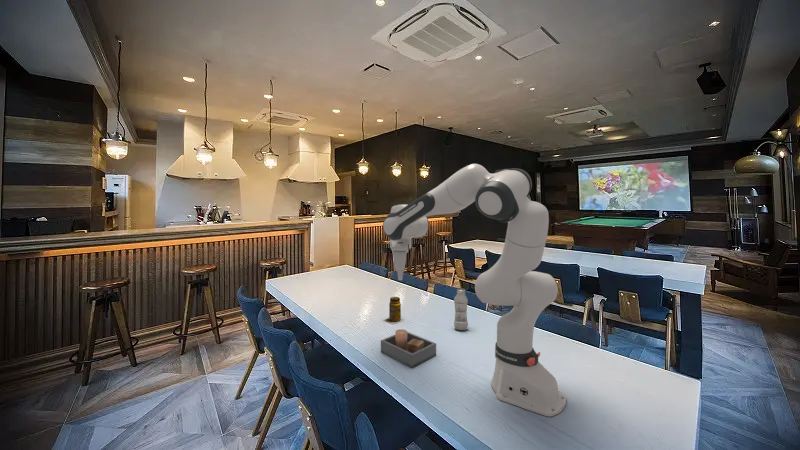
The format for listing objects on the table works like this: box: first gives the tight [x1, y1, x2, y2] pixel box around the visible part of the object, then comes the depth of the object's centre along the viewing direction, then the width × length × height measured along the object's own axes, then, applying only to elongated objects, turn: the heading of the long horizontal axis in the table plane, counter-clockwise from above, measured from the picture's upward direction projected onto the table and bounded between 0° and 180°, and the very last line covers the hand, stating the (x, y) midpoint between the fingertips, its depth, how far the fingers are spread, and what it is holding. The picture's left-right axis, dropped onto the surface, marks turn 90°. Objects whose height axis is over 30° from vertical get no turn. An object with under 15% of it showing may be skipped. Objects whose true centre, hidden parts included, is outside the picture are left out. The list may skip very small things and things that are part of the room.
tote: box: [380, 331, 437, 369], centre depth 125 cm, size 18×14×5 cm
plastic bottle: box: [453, 287, 469, 331], centre depth 149 cm, size 6×7×20 cm
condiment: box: [383, 296, 404, 325], centre depth 162 cm, size 7×8×12 cm
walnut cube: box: [407, 339, 424, 353], centre depth 123 cm, size 5×5×5 cm
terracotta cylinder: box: [394, 328, 408, 350], centre depth 128 cm, size 5×5×7 cm
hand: (400, 277), depth 127 cm, fingers open, 8 cm apart
